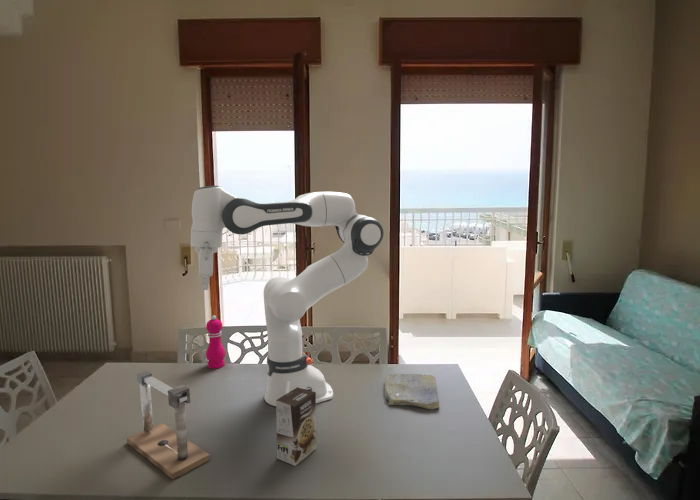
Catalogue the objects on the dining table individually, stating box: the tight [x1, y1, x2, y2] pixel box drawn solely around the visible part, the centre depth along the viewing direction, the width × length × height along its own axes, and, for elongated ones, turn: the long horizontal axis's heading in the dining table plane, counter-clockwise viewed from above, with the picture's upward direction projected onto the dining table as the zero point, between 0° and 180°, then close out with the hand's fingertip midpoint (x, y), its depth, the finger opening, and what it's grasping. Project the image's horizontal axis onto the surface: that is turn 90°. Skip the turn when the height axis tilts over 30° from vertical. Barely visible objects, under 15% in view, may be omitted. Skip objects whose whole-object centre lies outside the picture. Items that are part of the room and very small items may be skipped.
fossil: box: [383, 373, 440, 411], centre depth 150 cm, size 20×5×17 cm
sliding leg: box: [136, 370, 187, 432], centre depth 118 cm, size 21×3×17 cm, turn 50°
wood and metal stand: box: [126, 384, 211, 480], centre depth 118 cm, size 24×10×20 cm, turn 50°
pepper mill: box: [205, 315, 226, 370], centre depth 173 cm, size 7×7×20 cm
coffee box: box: [275, 387, 317, 467], centre depth 117 cm, size 9×6×16 cm
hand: (204, 286), depth 135 cm, fingers open, 8 cm apart
